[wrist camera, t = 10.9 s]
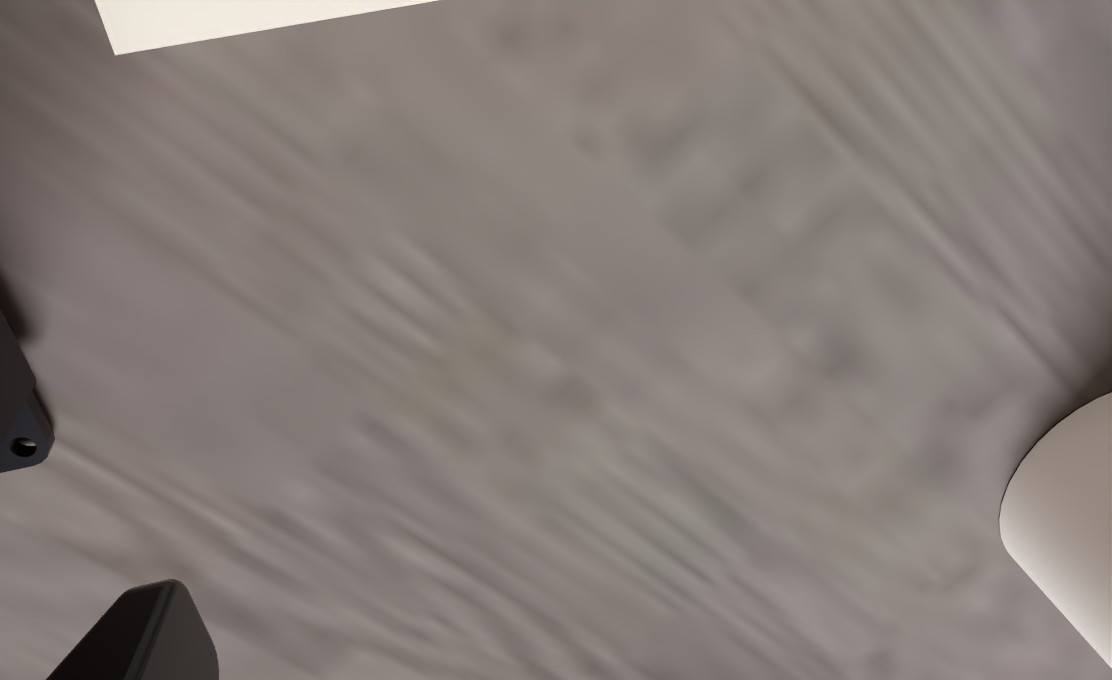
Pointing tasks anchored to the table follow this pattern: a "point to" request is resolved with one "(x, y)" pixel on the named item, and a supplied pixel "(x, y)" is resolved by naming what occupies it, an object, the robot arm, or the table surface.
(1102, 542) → the cylindrical container
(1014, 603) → the table surface
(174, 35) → the socket
